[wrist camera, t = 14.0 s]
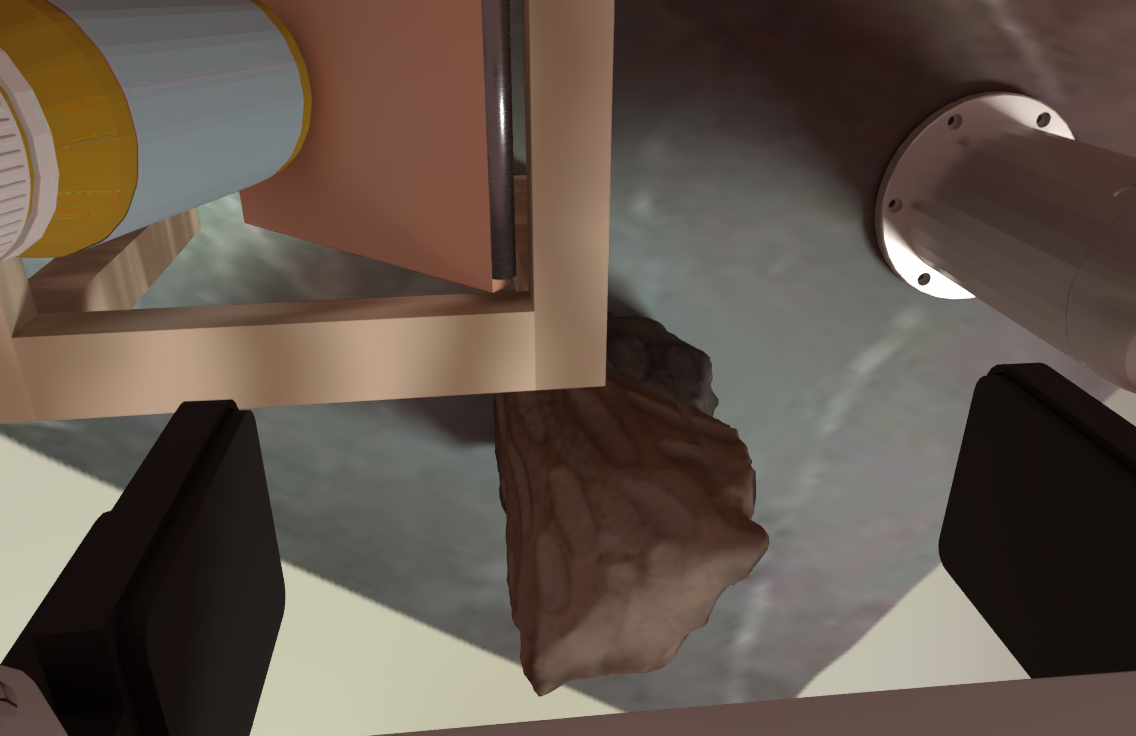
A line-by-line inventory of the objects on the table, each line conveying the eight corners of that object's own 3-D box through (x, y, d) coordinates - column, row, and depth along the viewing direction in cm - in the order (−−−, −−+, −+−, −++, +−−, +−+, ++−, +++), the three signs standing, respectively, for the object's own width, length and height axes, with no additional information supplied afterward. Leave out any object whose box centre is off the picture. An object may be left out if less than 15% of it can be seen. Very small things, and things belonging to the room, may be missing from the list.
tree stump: (690, 315, 53) (818, 498, 35) (645, 484, 58) (737, 719, 40) (489, 289, 50) (518, 473, 33) (461, 469, 56) (473, 712, 38)
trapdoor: (511, -195, 23) (487, -200, 22) (522, 287, 29) (503, 295, 29) (205, -158, 31) (179, -161, 30) (264, 217, 37) (244, 222, 36)
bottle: (209, 205, 33) (-171, 353, 20) (114, 28, 31) (-382, 62, 18) (353, 142, 31) (27, 262, 18) (260, -55, 29) (-189, -87, 16)
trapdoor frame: (536, -216, 40) (623, -366, 21) (541, 221, 49) (605, 385, 30) (54, -229, 37) (-334, -413, 18) (155, 235, 46) (-35, 425, 28)
